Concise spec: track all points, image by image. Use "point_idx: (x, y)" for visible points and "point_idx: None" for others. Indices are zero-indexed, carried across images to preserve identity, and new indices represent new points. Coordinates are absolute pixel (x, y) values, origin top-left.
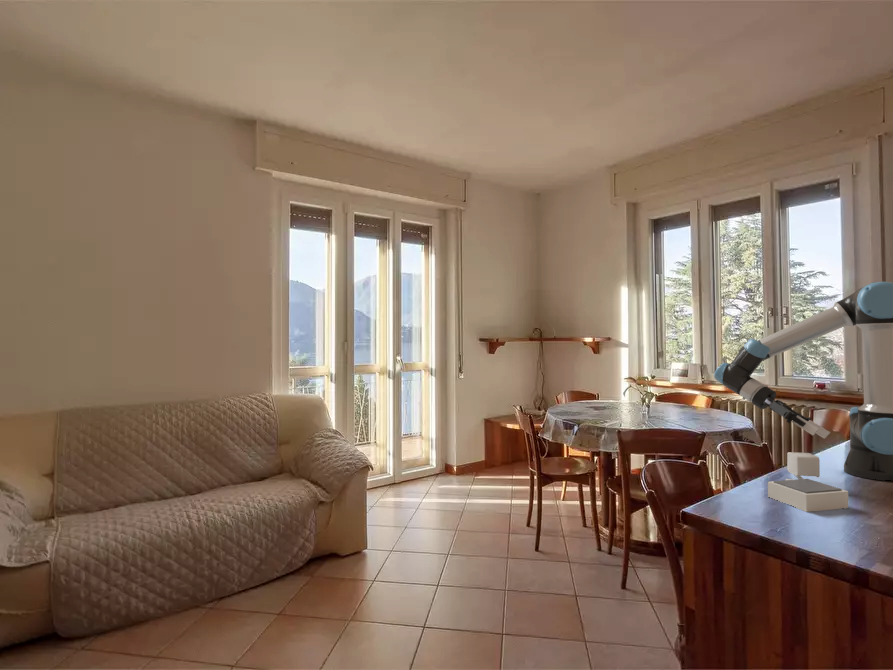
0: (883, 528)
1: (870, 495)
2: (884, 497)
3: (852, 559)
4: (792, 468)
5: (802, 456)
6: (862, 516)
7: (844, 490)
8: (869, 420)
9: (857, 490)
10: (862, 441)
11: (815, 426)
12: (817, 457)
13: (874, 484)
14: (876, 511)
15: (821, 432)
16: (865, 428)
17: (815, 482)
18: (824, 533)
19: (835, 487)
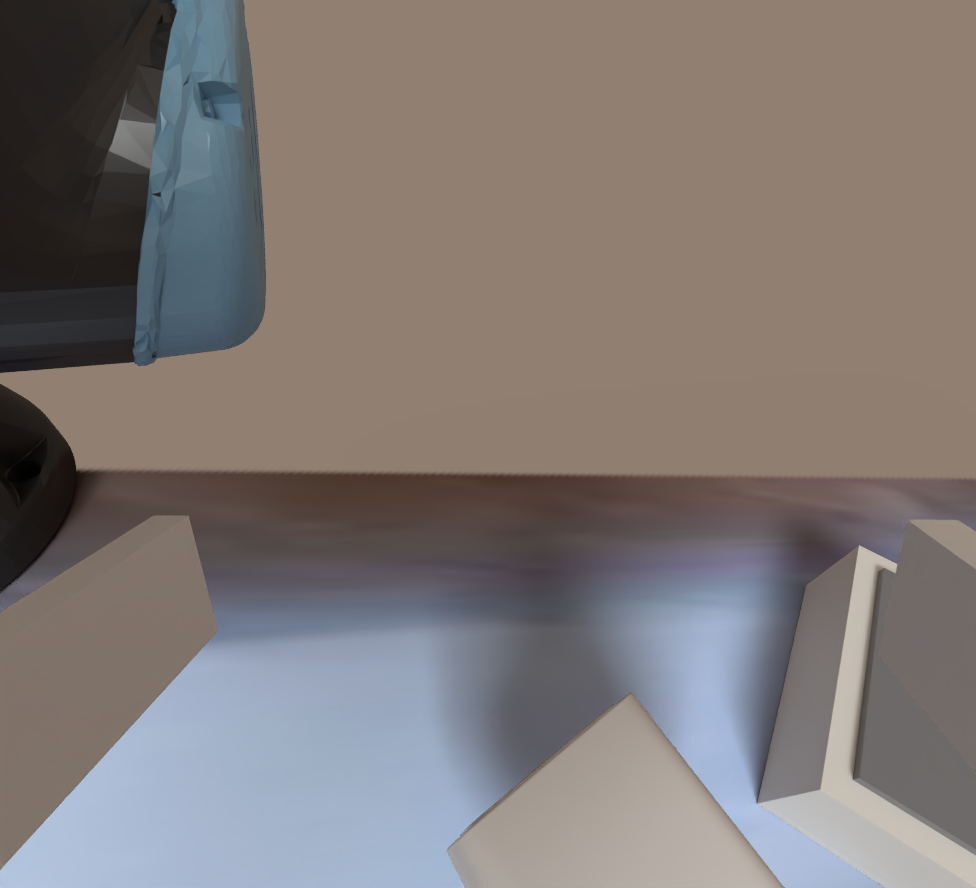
0: (926, 482)
1: (474, 520)
2: (465, 476)
3: None
4: None
5: (748, 858)
6: (864, 536)
7: (861, 560)
8: (115, 66)
9: (410, 570)
10: (151, 344)
11: (960, 555)
12: (638, 706)
13: (196, 509)
14: (735, 499)
15: (145, 634)
16: (219, 190)
17: (904, 708)
18: None
19: (886, 595)
